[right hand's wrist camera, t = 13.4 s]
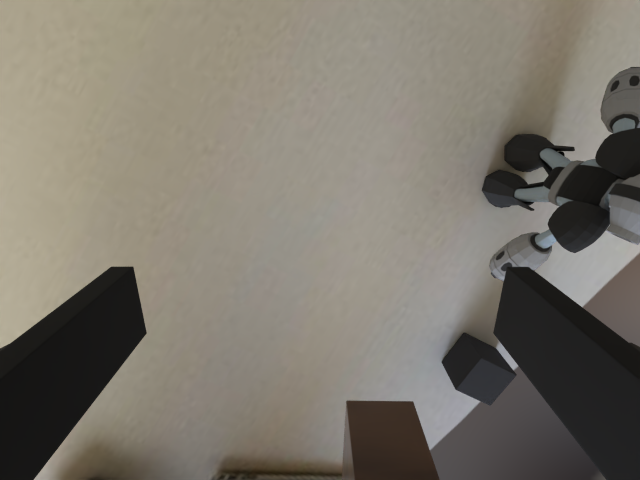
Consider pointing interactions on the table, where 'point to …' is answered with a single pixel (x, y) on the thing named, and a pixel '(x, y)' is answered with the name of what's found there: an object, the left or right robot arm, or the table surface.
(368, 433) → the walnut plank
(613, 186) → the robot
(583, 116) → the table surface
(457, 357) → the charcoal rubber block
